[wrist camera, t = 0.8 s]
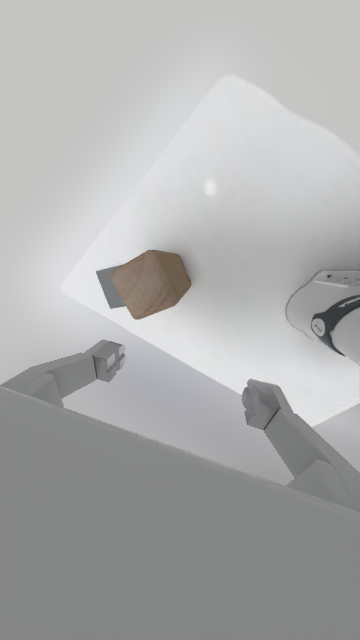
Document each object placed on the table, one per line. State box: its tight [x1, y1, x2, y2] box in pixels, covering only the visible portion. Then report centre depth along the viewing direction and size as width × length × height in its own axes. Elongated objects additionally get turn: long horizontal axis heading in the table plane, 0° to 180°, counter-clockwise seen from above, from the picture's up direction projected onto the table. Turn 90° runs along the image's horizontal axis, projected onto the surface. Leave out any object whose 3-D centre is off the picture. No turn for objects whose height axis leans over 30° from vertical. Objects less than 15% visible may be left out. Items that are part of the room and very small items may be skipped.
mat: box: [96, 265, 126, 309], centre depth 46 cm, size 18×13×2 cm
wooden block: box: [110, 250, 191, 319], centre depth 33 cm, size 10×10×20 cm
